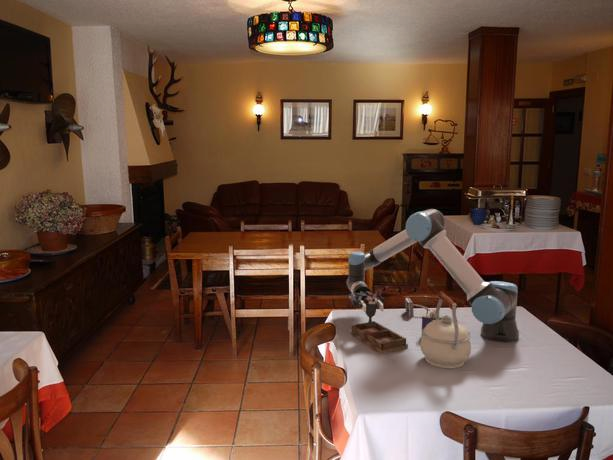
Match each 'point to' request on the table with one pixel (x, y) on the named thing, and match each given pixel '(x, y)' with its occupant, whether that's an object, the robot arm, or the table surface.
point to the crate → (378, 338)
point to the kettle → (445, 339)
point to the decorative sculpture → (410, 305)
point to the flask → (428, 320)
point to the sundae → (370, 308)
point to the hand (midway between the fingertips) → (373, 308)
